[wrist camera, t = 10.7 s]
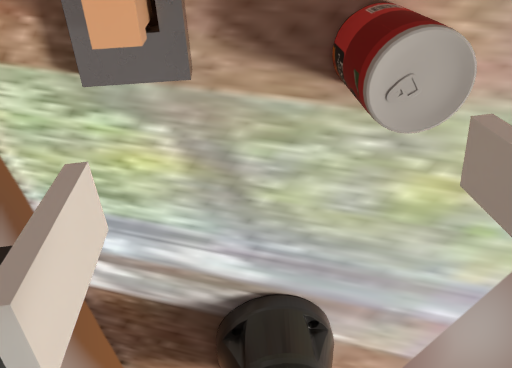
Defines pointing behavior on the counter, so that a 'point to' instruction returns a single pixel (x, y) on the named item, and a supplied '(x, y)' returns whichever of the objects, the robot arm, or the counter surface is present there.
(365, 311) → the counter surface
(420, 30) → the canned food
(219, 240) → the counter surface
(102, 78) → the grey slotted base
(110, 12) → the clip
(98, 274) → the counter surface
